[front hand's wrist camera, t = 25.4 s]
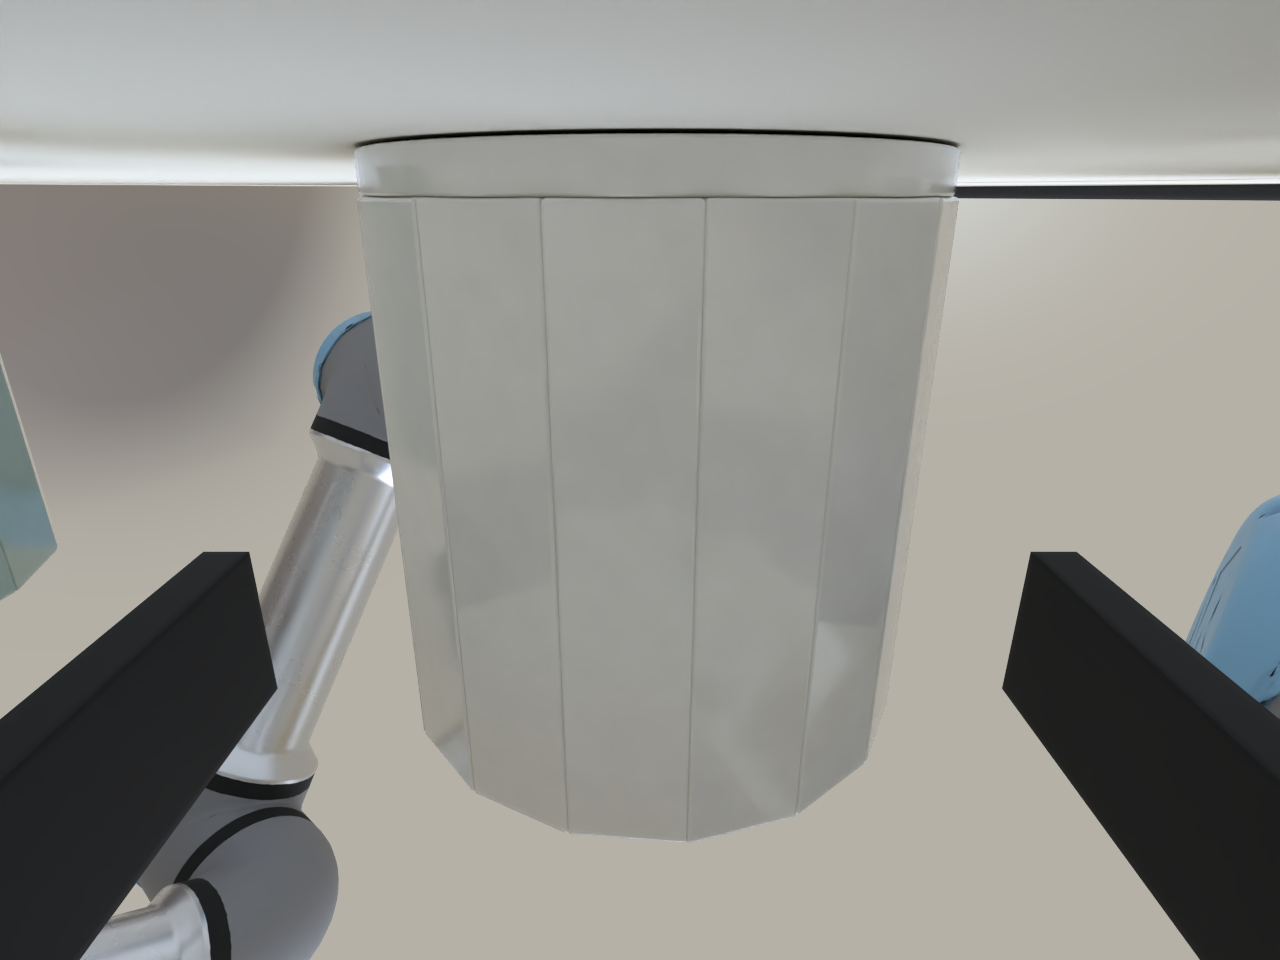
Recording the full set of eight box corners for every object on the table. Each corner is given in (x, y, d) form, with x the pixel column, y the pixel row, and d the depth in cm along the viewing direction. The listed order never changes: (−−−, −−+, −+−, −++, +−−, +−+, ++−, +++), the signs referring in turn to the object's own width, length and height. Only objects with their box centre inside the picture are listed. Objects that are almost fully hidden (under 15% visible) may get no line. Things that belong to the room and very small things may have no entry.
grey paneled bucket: (780, 166, 18) (757, 542, 22) (365, 161, 16) (416, 590, 19) (1124, 142, 10) (991, 768, 13) (327, 123, 7) (434, 909, 11)
